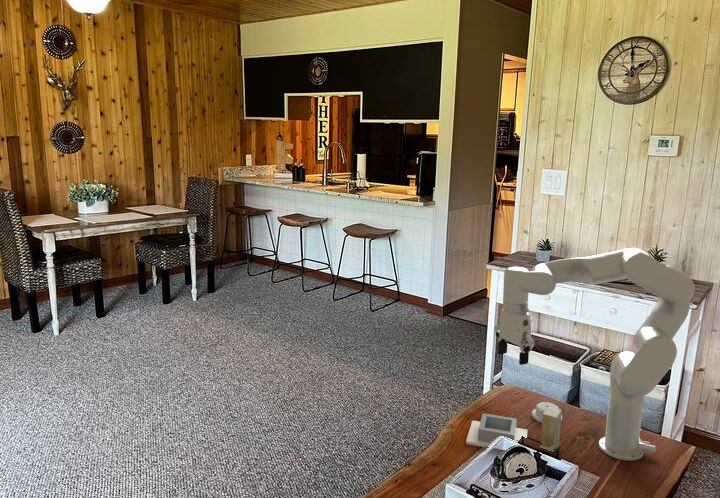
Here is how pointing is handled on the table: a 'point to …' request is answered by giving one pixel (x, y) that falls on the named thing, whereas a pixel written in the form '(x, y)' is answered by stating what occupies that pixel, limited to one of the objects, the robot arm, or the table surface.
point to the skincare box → (551, 428)
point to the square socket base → (493, 430)
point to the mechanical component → (542, 410)
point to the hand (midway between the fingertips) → (512, 358)
